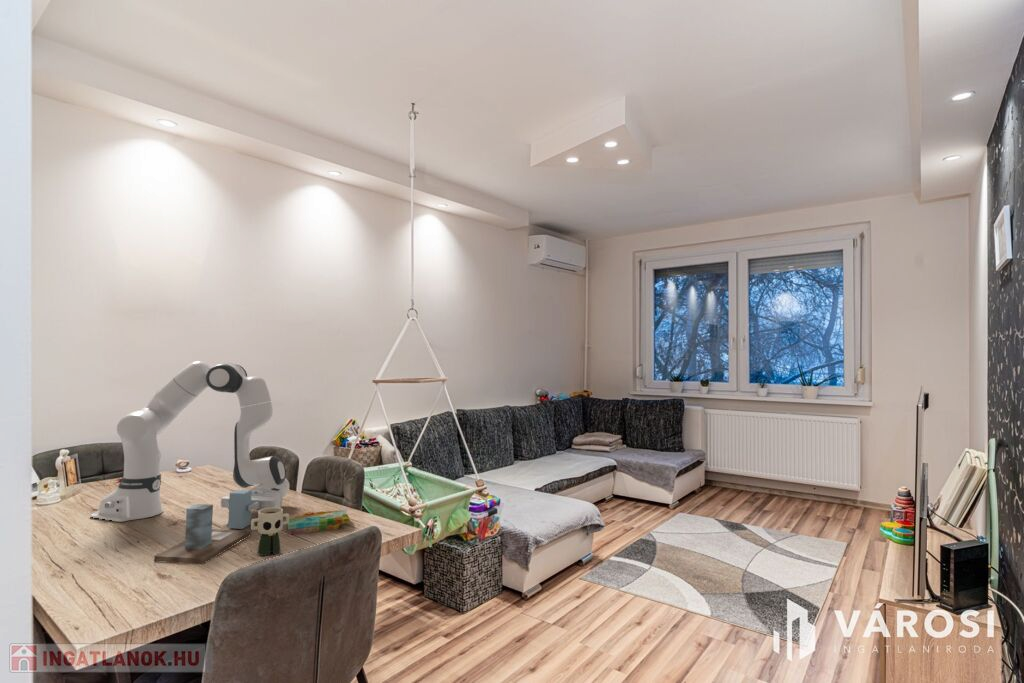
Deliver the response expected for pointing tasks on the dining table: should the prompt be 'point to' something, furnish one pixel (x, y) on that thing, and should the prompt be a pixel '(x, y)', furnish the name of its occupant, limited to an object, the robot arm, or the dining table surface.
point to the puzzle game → (317, 521)
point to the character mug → (269, 529)
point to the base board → (204, 552)
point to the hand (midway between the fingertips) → (238, 507)
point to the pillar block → (239, 509)
